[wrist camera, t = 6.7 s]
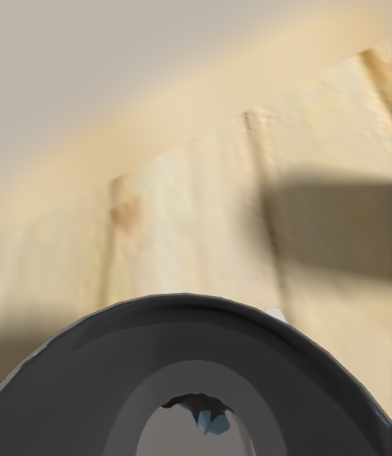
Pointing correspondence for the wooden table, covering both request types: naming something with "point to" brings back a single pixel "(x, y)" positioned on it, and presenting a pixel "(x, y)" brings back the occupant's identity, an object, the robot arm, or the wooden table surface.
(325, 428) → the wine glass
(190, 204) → the wooden table surface
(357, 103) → the wooden table surface
